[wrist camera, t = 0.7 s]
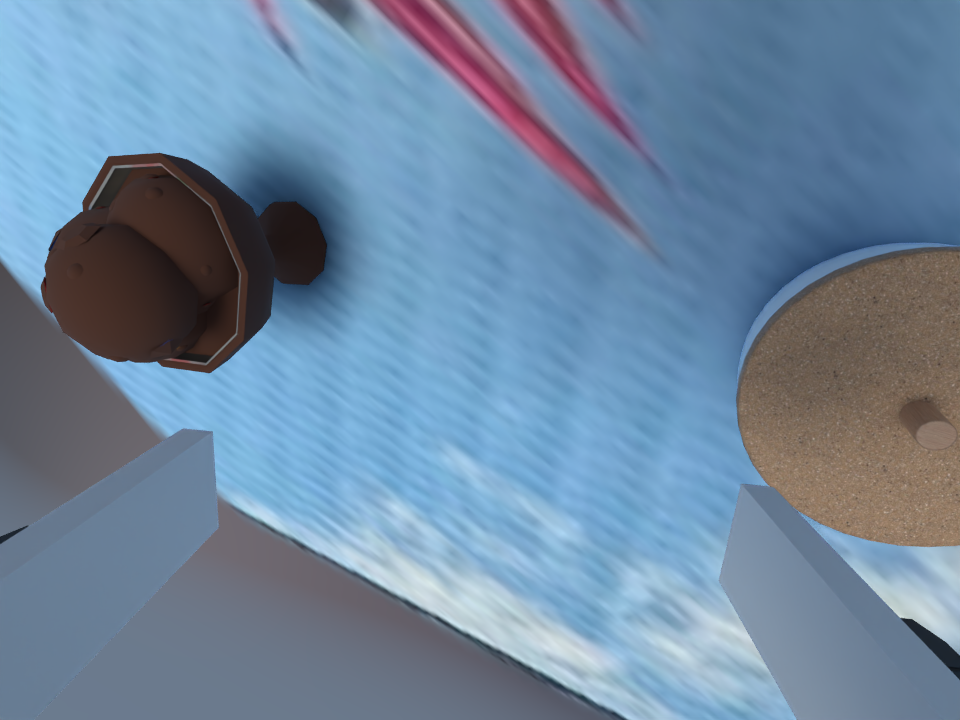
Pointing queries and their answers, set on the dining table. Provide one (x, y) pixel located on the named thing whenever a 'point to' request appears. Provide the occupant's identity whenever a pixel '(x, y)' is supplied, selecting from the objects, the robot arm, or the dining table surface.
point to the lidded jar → (861, 393)
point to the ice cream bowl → (173, 264)
